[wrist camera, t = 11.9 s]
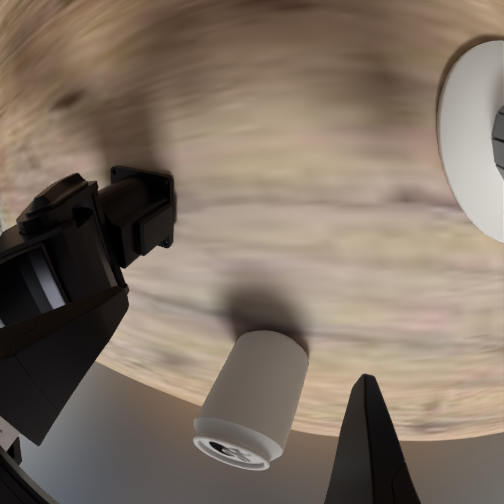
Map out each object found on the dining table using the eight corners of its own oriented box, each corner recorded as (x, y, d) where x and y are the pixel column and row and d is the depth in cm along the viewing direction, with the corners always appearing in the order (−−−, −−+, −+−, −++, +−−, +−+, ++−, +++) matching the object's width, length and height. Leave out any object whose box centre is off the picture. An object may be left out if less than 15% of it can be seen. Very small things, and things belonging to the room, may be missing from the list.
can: (225, 326, 27) (166, 427, 18) (297, 320, 24) (253, 446, 14) (254, 373, 30) (213, 465, 20) (318, 372, 27) (289, 479, 17)
